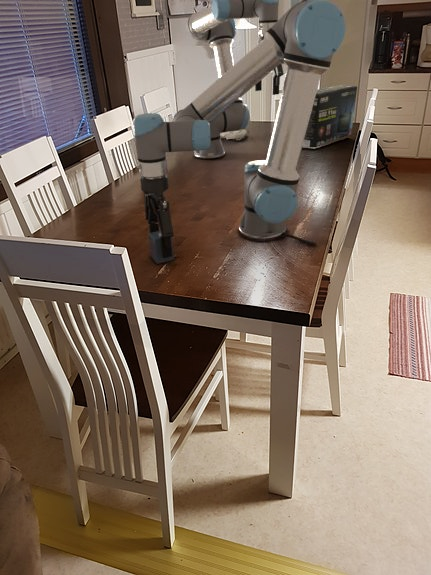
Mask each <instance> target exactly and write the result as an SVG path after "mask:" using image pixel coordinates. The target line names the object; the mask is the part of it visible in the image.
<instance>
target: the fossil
mask: <svg viewBox="0 0 431 575" xmlns="http://www.w3.org/2000/svg"><path fill="white" fill-rule="evenodd" d="M249 132H250V129H249V128H248V127H246V128H245V129H243V130H238V131H230V132H223V133H220V137H224V138H220V139H221V140H228V139H233V140H234V139H240V138H243V139H245V137H247V135H246V134H247V133H249ZM249 134H250V133H249ZM244 136H245V137H244ZM225 138H226V139H225ZM235 141H236V142H240V141H241V140H235Z"/></svg>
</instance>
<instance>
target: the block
mask: <svg viewBox="0 0 431 575" xmlns="http://www.w3.org/2000/svg"><path fill="white" fill-rule="evenodd" d="M147 236H148V242H149V243H148V245H149V252H150V258H151V259H152V260H153V261H154V263H156V265H159V264H163V263H167V262H170V261H174V260H175V256H174V255H175V254H174V253H175V252H174V242H173V237H171V248H172V256H171V257H167V258H163V257H162V247H161V239H160V238H159V237H160V236H162V235H161V231H160V230H159V231H156V232H152V233H150V232H149V233H147Z"/></svg>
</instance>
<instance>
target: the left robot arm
mask: <svg viewBox="0 0 431 575" xmlns="http://www.w3.org/2000/svg"><path fill="white" fill-rule="evenodd" d="M279 3H280V0H213V1H212V3H211V5H210V6H209V7H207V8H205V9H203V10H202V11H197V12H194V13H192V14H191V15H189V16H188V19H187V21H186V31H187V34H188V35H189V36H190V37H191V39H193V40H195V41H199V42H208V44H209V45H208V46H209V47H210V48H211V49H212V50H213V56H214V61H215V68H216V74H217V80H218V79H219V78H220V77H221V76H222V75H223V74H225V73H226V72H227V71H228V70H229V69H230V68H231V67H233V66H234V65H235V63H234V58H233V51H232V44H233V43H234V39H235V37H236V35H237V31H236V30H237V25H235V24H236V21H235V20H241V19H243V20H244V19H258V42H257V45H258V44H259V43H260V42H261V41H262V40H263V39H264V36H265V32H266V31H267V30H269V29H270V28H271V27H272V26H273V25H274V24H275V23H276V22H277V21H278V20H279ZM235 26H236V28H235ZM271 72H272V74H273V76H272V96H275V95H280V83H281V77H282V76H284V69H283V64H279V65H278V66H277V67H276V68H275V69H274V70H272V71H271ZM262 81H263V79H262V80H261V81H259V82H258V83H257V84H256V85H255V86H254V91H255V92H260V91H262V90H263V88H262V87H263V86H262V84H263V82H262ZM249 121H250V109H249V107H248V105H247V104H244V100H243V99H242V98H241V97H240V98H239V99H238V100H237V101H236V102H234V103H233V104H232V105H231V106H230V107H229V108H227V109H226V110H225V111H224V112H223V113H221V114H220V115H219V116H218V117H217V118H215V119H214V120H213V121H212V122H211V123H210V124H209V126H210V141H211V142H210V147H209V149H207V150H200V151H193V152H194V153H193V156H194V158H196V159H199V160H217V159H221V158H222V157H225V154H226V153H225V149H224V146H223V143H222V139H220V133H223V132H230V131H238V130H243V129H245V128H247V126H248V124H249Z"/></svg>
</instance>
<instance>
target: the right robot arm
mask: <svg viewBox="0 0 431 575" xmlns="http://www.w3.org/2000/svg"><path fill="white" fill-rule="evenodd" d="M346 30H347V28H346V19H345V16H344V14H343V12H342V10H341V9H340V7H338V6H337V5H336V4H335V3H334V2H332V1H329V0H301V1H300V2H297V3H296V4H294V5H293V6H291V7H290V8H289V9H288V10H287V11H286V12H285V13H284V14H282V16H281V17H280V18H278V21H277V22H276V23H275V24H274V25H273V26H272V27H271V28H270V29H269V30H267V31H266V32H265V36H264V39H263V40H262V41H261V42H260V43H259V44H258V43H257V44H256V45H255V46H254V47H253V48H251V50H250V51H249V52H247V53H246V54H245V55H243V57H241V58H240V59H239V60H238V61H237V62H236V63H234V66H233V67H231V68H230V69H229V70H228V71H227V72H226V73H225V74H223V75H222V76H221V77H220V78H219V79H218V78H217V79H216V80H215V81H214V82H213V83H212V84H211V85H210V86H208V87H207V88H206V89H205V90H204V91H203V92H202V93H200V94H199V95H198V96H197V97H196V98H195V99H194V100H193V101H191V103H189V104H188V105H186V107H184V108H183V109H179V110H178V111H176V113H175V114H174V115H173V118H172V121H164V118H163V116H162V115H161V114H160V113H151V112H149V113H140V114H137V115H136V116H135V117H134V118H133V121H132V123H133V136H134V144H135V151H136V158H137V165H136V169H137V170H138V174H139V176H140V177H139V183H140V190H141V191H142V192H143V196H144V213H145V216H144V217H145V220H146V221H147V224H148V227H149V233H152V232H156V231H161V235H162V236H160V237H159V238H160V239H161V247H162V257H163V258H167V257H171V256H172V248H171V237H172V238H173V237H174V230H173V222H172V218H171V211H170V201H168V200H166V197H165V195H164V193H165V192H166V191H167V190H168V189H169V186H170V185H169V177H168V163H167V157H166V153H176V152H177V153H180V152H194V151H200V150H207V149H209V147H210V142H211V141H210V126H209V124H210V123H211V122H212V121H213V120H214V119H215V118H217V117H218V116H219V115H220V114H221V113H223V112H224V111H225V110H226V109H227V108H229V107H230V106H231V105H232V104H233V103H234V102H236V101H237V100H238V99H239V98H240V99H241V98H242V97H243V96H244V95H245V94H247V93H248V92H249V91H250V90H251V89H252V88H254V87H255V85H256V84H257V83H258V82H259V81H261V80H262V81H263V79H264V78H266V77H267V76H268V75H270V73H271V72H272V70H274V69H275V68H276V67H277V66H278V65H279V64H282V65H285V66H286V70H285V71H286V72H285V76H284V80H283V84H282V88H281V93H280V97H279V100H278V101H279V102H278V106H277V111H276V114H275V120H274V124H273V127H272V132H271V137H270V141H269V145H268V146H269V147H268V149H267V154H266V157H265V159H261V160H259V159H258V160H252V161H249V162H247V163H245V165H244V172H243V175H244V211H243V213H242V216H241V220H240V222H239V226H238V232H239V235H240V236H241V237H242V238H244V239H247V240H250V241H254V242H271V241H277V240H279V239H281V238H283V237H287V238H290V239H293V240H294V241H297V242H301V243H303V244H305V245H306V244H307V245H310V246H314V247H315V246H317V242H314V241H310V240H307V239H304V238H301V237H298V236H296V235H293V234H290V233H287V223H286V221H287V220H289V219H291V217H292V216H293V215H294V214H295V213H296V211H297V209H298V205H299V204H298V203H299V200H298V195H297V189H298V186H299V181H300V178H301V176H300V174H299V173H298V170H297V167H298V164H299V160H300V156H301V152H302V149H303V148H302V145H303V141H304V138H305V134H306V130H307V126H308V123H309V119H310V115H311V111H312V107H313V104H314V100H315V96H316V92H317V90H318V89H319V85H320V81H321V77H322V75H323V74H324V73H326V72H327V71H329V70H330V67H331V65H332V60H333V56H334V54H335V53H336V52H337V51H338V50H339V48H341V46H342V44H343V42H344V40H345V36H346Z"/></svg>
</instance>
